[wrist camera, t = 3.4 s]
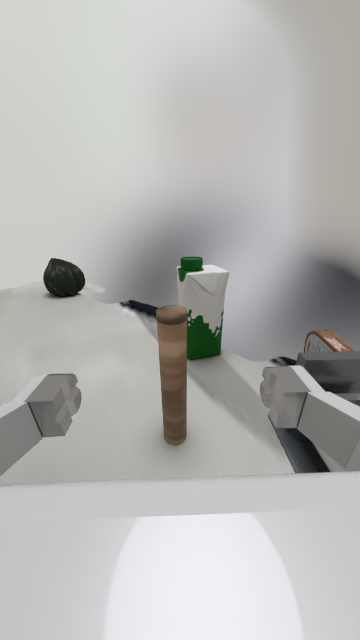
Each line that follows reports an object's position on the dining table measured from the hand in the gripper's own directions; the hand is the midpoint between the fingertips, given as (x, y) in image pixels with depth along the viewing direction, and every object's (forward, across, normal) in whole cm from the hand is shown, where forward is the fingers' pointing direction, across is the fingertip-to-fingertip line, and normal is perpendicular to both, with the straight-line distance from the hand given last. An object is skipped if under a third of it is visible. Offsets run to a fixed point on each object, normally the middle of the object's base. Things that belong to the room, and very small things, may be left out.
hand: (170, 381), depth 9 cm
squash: (+77, +44, +19) cm, 91 cm away
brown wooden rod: (+12, 0, +20) cm, 23 cm away
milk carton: (+33, -5, +20) cm, 39 cm away
